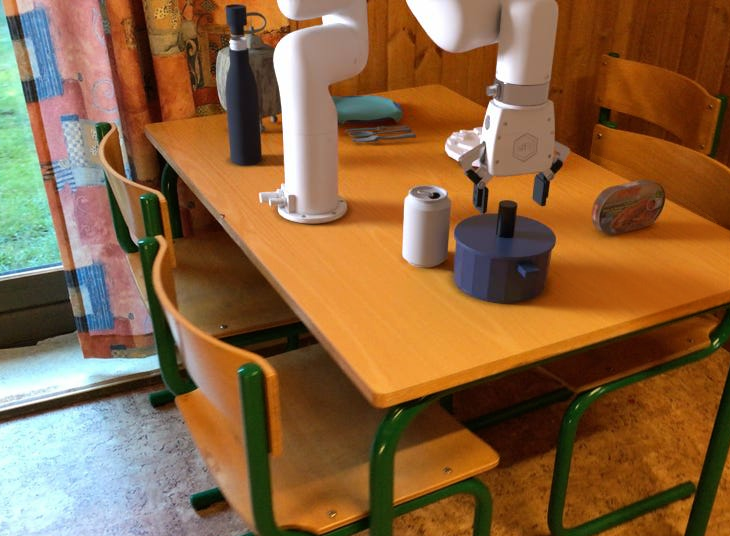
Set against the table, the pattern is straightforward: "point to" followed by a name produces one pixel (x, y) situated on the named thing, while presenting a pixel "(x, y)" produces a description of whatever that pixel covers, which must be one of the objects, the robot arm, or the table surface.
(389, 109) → the cutlery set
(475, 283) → the pot
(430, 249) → the can
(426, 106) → the table surface
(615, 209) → the tin
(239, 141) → the dark blue bottle
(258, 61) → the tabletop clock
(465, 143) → the embossed medallion
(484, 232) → the pot lid
